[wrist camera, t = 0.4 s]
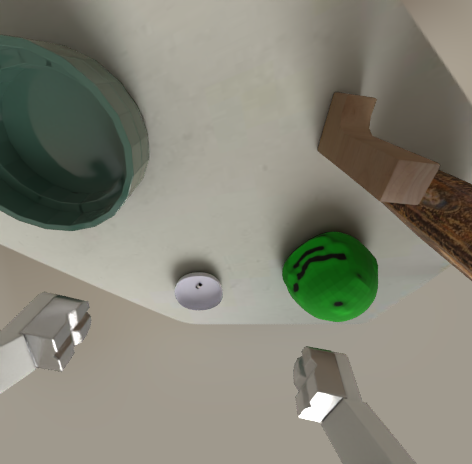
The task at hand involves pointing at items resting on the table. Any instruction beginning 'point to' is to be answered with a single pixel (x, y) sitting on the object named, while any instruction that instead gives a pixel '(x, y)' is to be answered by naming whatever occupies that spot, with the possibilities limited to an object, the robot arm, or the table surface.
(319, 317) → the toy
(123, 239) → the table surface
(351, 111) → the wooden block
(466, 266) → the book
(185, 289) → the white shallow round dish
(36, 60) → the bowl
